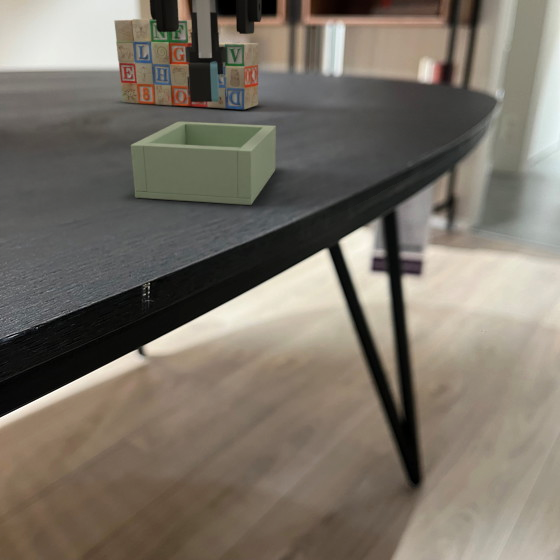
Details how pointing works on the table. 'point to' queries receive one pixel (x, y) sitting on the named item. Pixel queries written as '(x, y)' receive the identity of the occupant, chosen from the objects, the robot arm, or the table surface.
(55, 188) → the table surface
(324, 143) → the table surface
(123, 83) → the stack of blocks
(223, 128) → the open green box
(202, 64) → the push button
